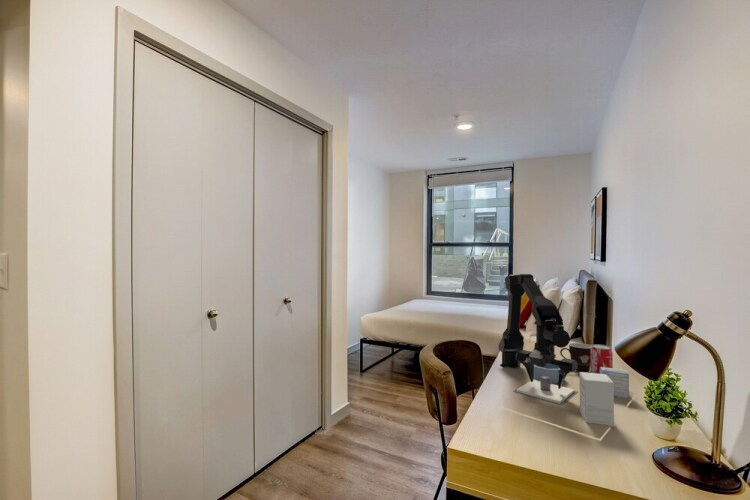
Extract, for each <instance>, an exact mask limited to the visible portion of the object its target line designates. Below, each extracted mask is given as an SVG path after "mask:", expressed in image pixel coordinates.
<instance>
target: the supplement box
mask: <svg viewBox="0 0 750 500" xmlns="http://www.w3.org/2000/svg"><path fill="white" fill-rule="evenodd" d="M614 398H615V396H614V383H613V382H612V380H611V379H610V378H609V377H608V376H607V375H606V374H596V373H590V372H579V413H580V415H581V416H582V419H583V420H584V422H585V423H589V424H590V423H591V424H597V425H604V426H609V427H611V428H614V427H615V399H614Z"/></svg>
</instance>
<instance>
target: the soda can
mask: <svg viewBox="0 0 750 500" xmlns="http://www.w3.org/2000/svg"><path fill="white" fill-rule="evenodd" d="M591 346H592V348H591V358H590V371H589V373H596V374H600V367H605V368H613V357H614V356H613V351H612V347H611V346H608V345H606V344H601V343H600V344H597V343H596V344H595V343H594V344H591Z"/></svg>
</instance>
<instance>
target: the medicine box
mask: <svg viewBox="0 0 750 500" xmlns="http://www.w3.org/2000/svg"><path fill="white" fill-rule="evenodd" d="M600 374H606V375H607V376H608V377H609V378H610V379H611V380H612V382H613V383H614V397H619V398H626V399H629V398H630V373H629V372H628V370H626V369H621V368H605V367H600Z"/></svg>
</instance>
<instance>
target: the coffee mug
mask: <svg viewBox="0 0 750 500" xmlns="http://www.w3.org/2000/svg"><path fill="white" fill-rule="evenodd" d="M568 345H569V346H568V347H569V348H567V347H563V348H560V351H559V354H560V355H561V357H562V359H564V358H566V357H565V356H564V354H563V353H562V352H563V351H566V350H567V351H568V353H569V355H570V357H569V358H570V359H572V360H575V361H576V362H577V369H576V370H574V372H575V371H576V372H578V371H579V373H580V372H584V373H590V358H591V348H592V344H586V343H581V342H571V343H570V342H569V344H568Z"/></svg>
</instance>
